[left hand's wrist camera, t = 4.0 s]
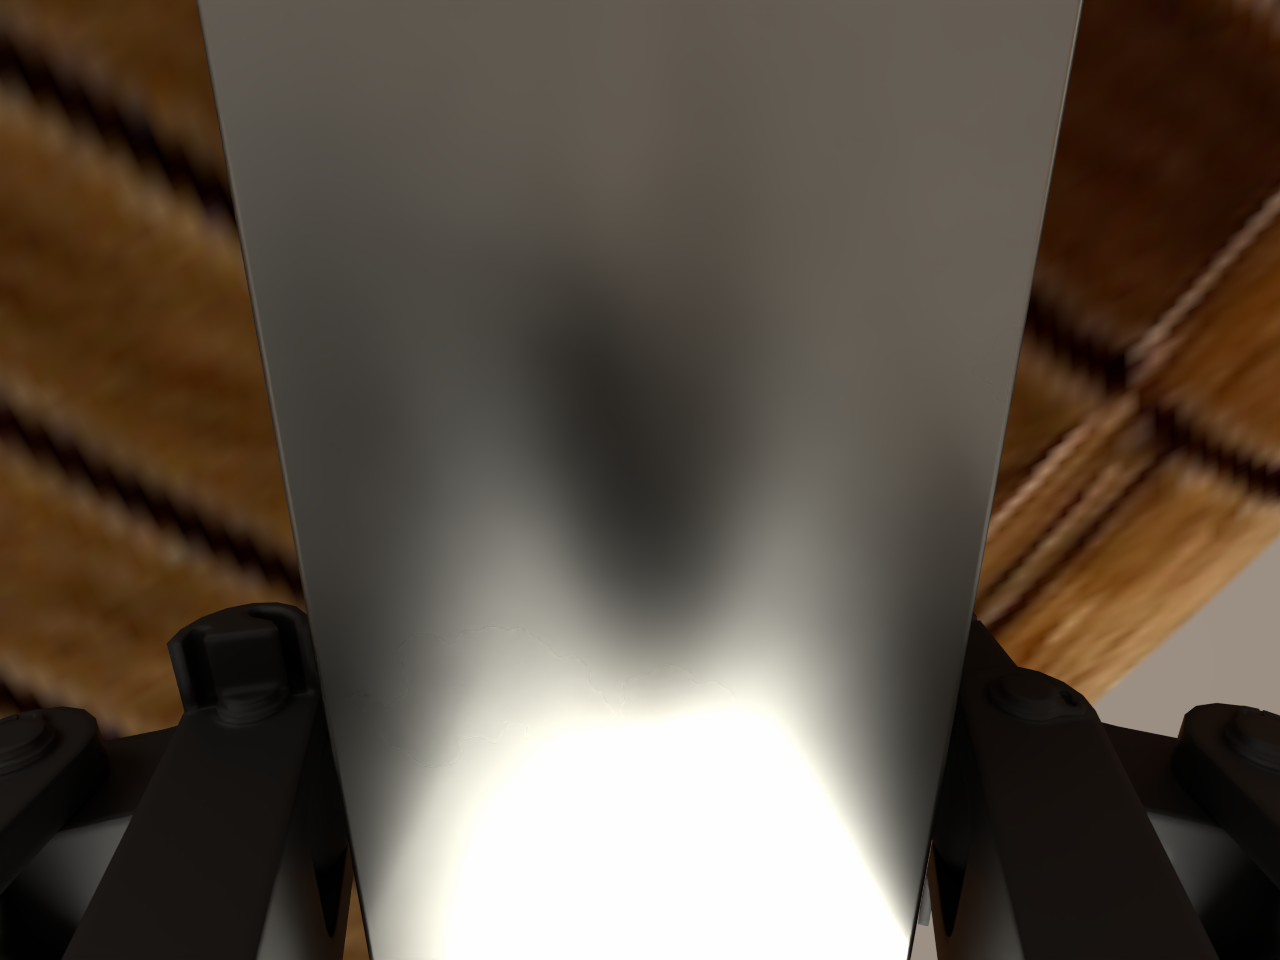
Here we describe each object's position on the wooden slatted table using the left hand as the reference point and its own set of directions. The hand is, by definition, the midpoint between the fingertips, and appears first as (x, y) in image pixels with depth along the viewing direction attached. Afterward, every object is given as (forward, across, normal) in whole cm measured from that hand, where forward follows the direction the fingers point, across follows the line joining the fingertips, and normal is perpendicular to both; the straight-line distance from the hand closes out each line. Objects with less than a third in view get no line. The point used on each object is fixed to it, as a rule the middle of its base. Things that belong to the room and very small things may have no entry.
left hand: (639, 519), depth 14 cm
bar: (+1, 0, -8) cm, 8 cm away
